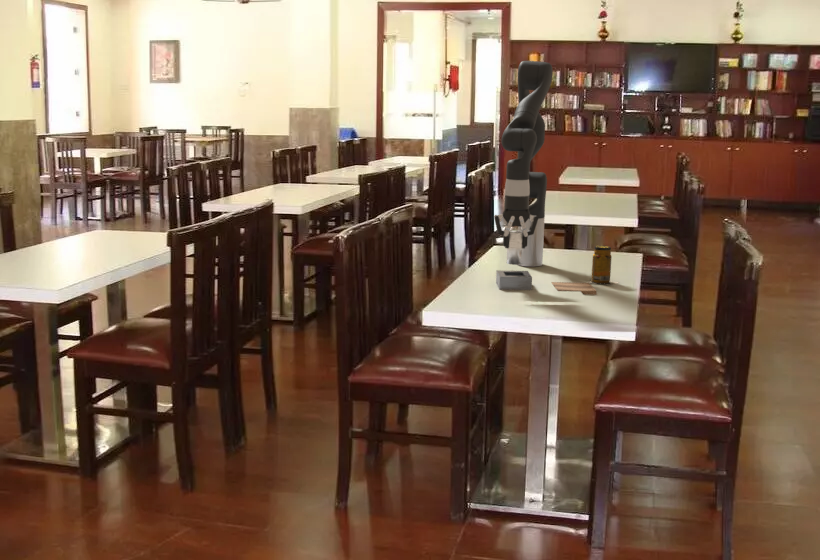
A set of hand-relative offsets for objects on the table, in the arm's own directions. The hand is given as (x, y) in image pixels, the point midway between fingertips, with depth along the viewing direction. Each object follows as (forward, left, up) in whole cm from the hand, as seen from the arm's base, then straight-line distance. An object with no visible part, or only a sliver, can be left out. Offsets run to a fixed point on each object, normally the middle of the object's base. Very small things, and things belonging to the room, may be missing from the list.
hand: (514, 247), depth 288 cm
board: (0, +19, -13) cm, 23 cm away
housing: (0, 0, -13) cm, 13 cm away
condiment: (-12, +31, -14) cm, 36 cm away
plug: (0, 0, -5) cm, 5 cm away
